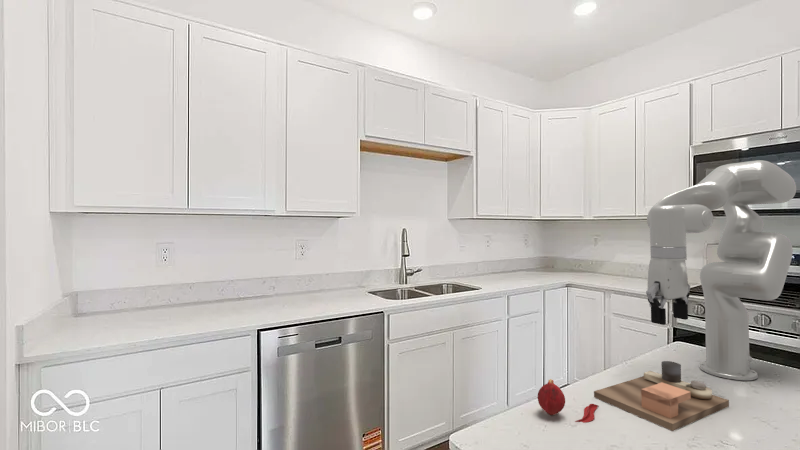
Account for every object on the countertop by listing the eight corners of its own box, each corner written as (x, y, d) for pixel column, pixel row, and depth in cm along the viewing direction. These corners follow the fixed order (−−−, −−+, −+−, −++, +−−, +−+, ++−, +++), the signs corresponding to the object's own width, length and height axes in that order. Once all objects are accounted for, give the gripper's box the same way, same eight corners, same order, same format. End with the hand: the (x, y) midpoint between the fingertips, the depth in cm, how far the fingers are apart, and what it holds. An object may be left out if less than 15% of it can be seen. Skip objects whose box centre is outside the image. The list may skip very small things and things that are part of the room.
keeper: (662, 399, 90) (661, 382, 90) (691, 409, 85) (690, 391, 85) (641, 406, 86) (641, 389, 86) (670, 418, 81) (669, 399, 81)
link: (716, 396, 91) (715, 373, 91) (705, 400, 88) (704, 377, 88) (652, 375, 103) (652, 355, 104) (641, 379, 101) (641, 358, 101)
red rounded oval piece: (568, 423, 83) (567, 386, 83) (540, 420, 84) (539, 384, 84) (562, 410, 88) (561, 375, 88) (536, 408, 90) (535, 374, 90)
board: (649, 379, 105) (649, 363, 105) (729, 406, 89) (728, 386, 89) (594, 397, 95) (593, 378, 95) (672, 431, 79) (672, 408, 79)
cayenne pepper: (582, 428, 81) (582, 419, 81) (563, 419, 85) (563, 410, 85) (614, 413, 88) (614, 405, 88) (595, 405, 92) (595, 397, 92)
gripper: (671, 251, 104) (673, 314, 104) (632, 254, 97) (634, 322, 97) (703, 252, 98) (705, 319, 98) (664, 256, 90) (665, 329, 90)
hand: (669, 321), depth 97 cm, fingers open, 9 cm apart
